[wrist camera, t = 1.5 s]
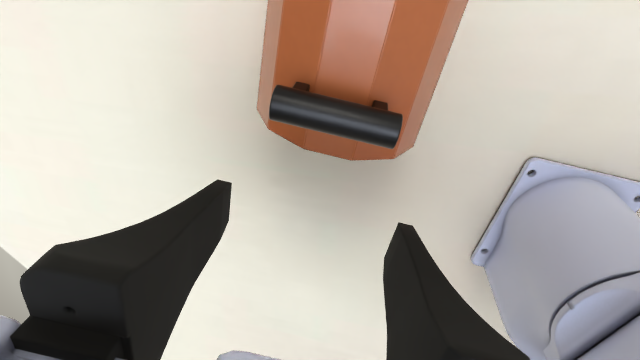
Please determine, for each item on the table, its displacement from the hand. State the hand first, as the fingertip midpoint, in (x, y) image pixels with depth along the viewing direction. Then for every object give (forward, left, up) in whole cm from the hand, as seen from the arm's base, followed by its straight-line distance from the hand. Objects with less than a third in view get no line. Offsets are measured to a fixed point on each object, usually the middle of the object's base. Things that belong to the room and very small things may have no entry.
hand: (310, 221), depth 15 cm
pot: (+10, 0, -5) cm, 11 cm away
